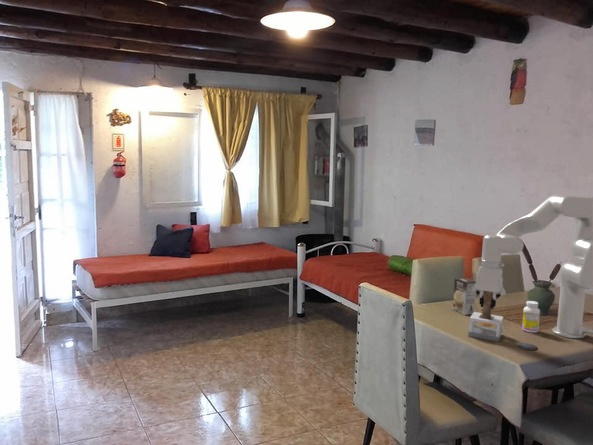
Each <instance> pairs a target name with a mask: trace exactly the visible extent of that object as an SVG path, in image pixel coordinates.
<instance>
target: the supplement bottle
mask: <svg viewBox="0 0 593 445" xmlns="http://www.w3.org/2000/svg"><path fill="white" fill-rule="evenodd" d="M525 304H526V306H524V308H523V311H522V312H523V313H522V325H521V330H523V331H524V332H527V333H533V334H534V333H538V332H539V327H540V317H541V316H540V315H541V310H540V308H538V307H539V302H537V301H535V300H527V301H526V303H525Z"/></svg>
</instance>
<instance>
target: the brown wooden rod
mask: <svg viewBox="0 0 593 445" xmlns="http://www.w3.org/2000/svg"><path fill="white" fill-rule="evenodd" d="M492 299H493V292H489V291H484V294H483V307H482V312H481V313H482V317H481V318H483V319H489V320H492V318H491V315H492V310H493V309H491V303H492Z"/></svg>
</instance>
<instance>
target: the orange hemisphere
mask: <svg viewBox="0 0 593 445" xmlns="http://www.w3.org/2000/svg"><path fill="white" fill-rule="evenodd" d="M480 325H481V327H486V328H491V327H492V324H489V323H483V322H480Z"/></svg>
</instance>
